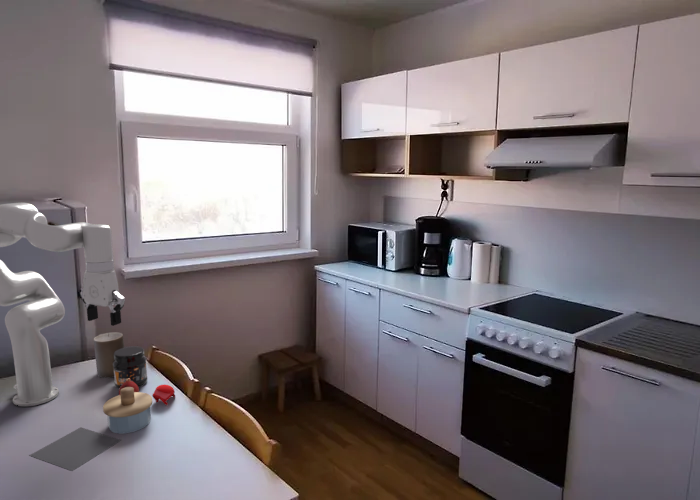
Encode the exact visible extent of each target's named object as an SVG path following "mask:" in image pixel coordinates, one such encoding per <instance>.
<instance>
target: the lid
mask: <svg viewBox="0 0 700 500" xmlns="http://www.w3.org/2000/svg"><path fill="white" fill-rule="evenodd" d="M152 405H153V396H152V395H151V394H149V393H147V392H141V391H139V392H134V388H133V387H125V388H123V389H121V390H120V395H119V394H118V395H115V396H113V397H112V398H110V399H108V400H107V401H105V402H104V403H103V406H102V411H103V413H104V415H106V416H107V417H108V416H111V417H127V416H132V415H136V414H138V413H141V412H143V411H145V410H147V409H148V408H149V407H150V408H151V406H152Z"/></svg>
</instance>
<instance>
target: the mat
mask: <svg viewBox="0 0 700 500" xmlns="http://www.w3.org/2000/svg"><path fill="white" fill-rule="evenodd" d="M121 441H122V439H120V438H117V437H114V436H110V435H107V434H104V433H100V432H97V431H94V430H90V429H88V428H84V427H79V428H76V429H75V430H73V431H71V432H69V433H68V434H65V435H64V436H62V437H60V438H59V439H57V440H54V441H53V442H51V443H49V444H47V445H45V446H44V447H42V448H40V449H39V450H36V451H34V452H32V453H31V454H29V457H32V458H35V459H37V460H41V461H42V462H46V463H48V464H52V465H54V466H56V467H60V468H63V469H66V470H68V471H71V472H73V471H75V470H76V469H77V468H80V467H81V466H83V465H84V464H86V463H87V462H90V460H92V459H94V458H96V457H97V456H98V455H101V454H102V453H103V452H106V451H107V450H108V449H110V448H112V447H113V446H114V445H117V444H119V443H120V442H121Z"/></svg>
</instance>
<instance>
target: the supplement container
mask: <svg viewBox="0 0 700 500" xmlns="http://www.w3.org/2000/svg"><path fill="white" fill-rule="evenodd" d="M113 369H114V377H113V379H114V381H113V382H114V386H115V387H116V388H117V389H118V390H119V389H120V387H121V385H122V384H123V383H124V382H126V380H127V379H128V378H130V379H131V380H130V381H132V382H134V383H136V384H137V386H138V388H141V387H143V385H145V384H146V383H147V382H148V371H147V370H148V369H147V357H146V356H145V349H144V348H143V347H141V346H138V345H137V346H135V345H132V346H124V348H121V349H118V350H116V351H115V352H114V361H113Z"/></svg>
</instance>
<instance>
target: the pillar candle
mask: <svg viewBox="0 0 700 500" xmlns="http://www.w3.org/2000/svg"><path fill="white" fill-rule="evenodd" d="M93 345H94V346H93V347H94V355H95V363H96V364H95V365H96V375H97V376H98V378H105V379H107V378H108V379H109V378H114V369H113V361H114V352H115V351H116V350H118V349H121V348H124V347H125V342H124V335H123V332H119V331H118V332H115V331H114V332H106V333H100V334H98V335H97V336H95V337H94V338H93Z"/></svg>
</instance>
